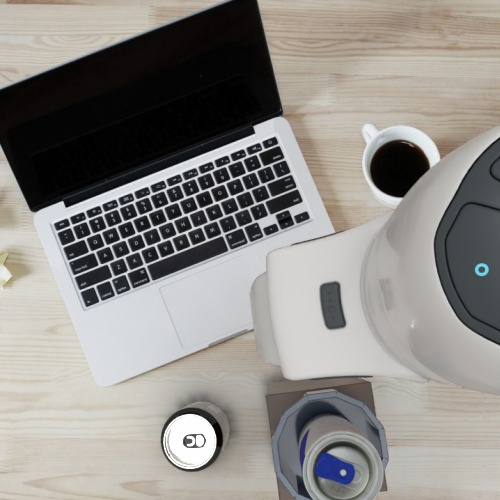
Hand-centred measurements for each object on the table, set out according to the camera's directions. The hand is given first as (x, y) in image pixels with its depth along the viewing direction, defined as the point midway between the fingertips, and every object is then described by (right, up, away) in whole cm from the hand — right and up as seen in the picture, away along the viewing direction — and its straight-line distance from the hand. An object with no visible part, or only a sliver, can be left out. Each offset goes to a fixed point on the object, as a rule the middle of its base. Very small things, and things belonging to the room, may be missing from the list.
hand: (408, 306), depth 47 cm
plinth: (-3, -16, +39) cm, 42 cm away
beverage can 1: (-16, -18, +40) cm, 46 cm away
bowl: (-4, -12, +12) cm, 18 cm away
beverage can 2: (-4, -12, +12) cm, 18 cm away
